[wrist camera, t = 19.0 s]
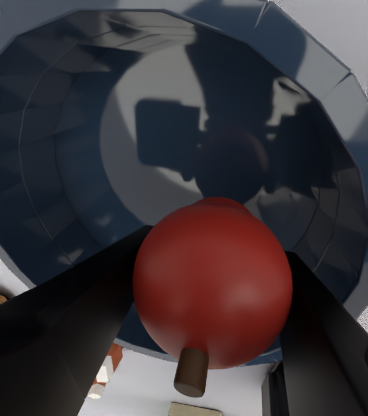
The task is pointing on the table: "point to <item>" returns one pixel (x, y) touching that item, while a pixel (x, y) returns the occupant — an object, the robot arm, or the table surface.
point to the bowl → (177, 135)
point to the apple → (211, 288)
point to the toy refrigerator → (190, 411)
